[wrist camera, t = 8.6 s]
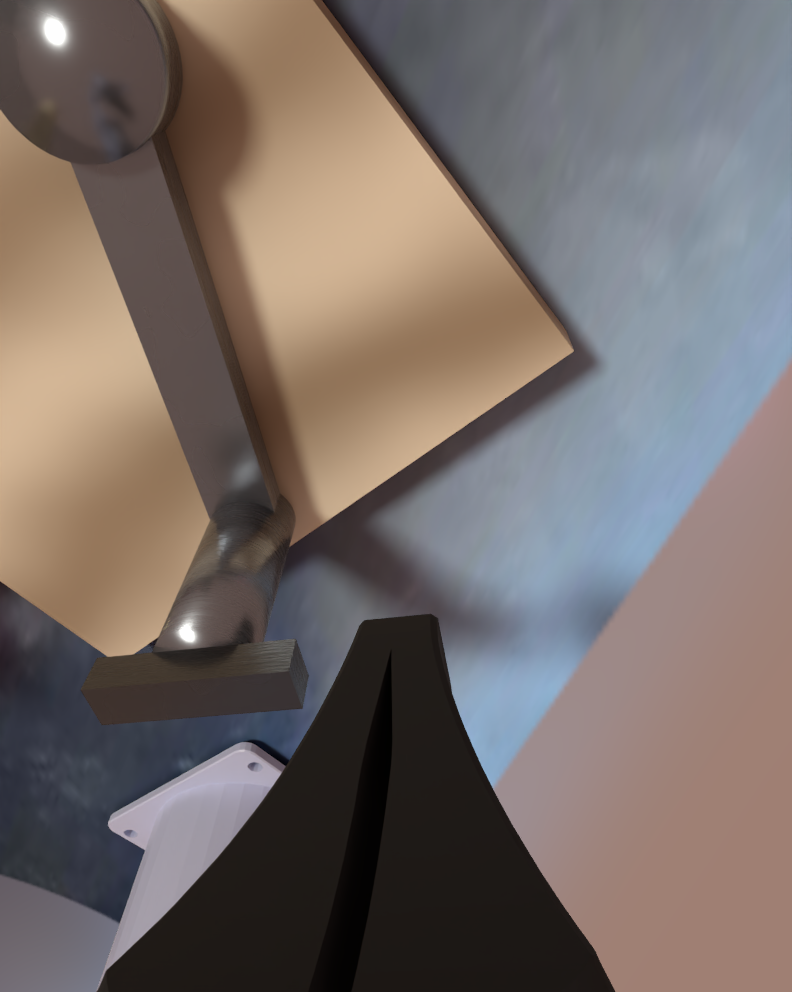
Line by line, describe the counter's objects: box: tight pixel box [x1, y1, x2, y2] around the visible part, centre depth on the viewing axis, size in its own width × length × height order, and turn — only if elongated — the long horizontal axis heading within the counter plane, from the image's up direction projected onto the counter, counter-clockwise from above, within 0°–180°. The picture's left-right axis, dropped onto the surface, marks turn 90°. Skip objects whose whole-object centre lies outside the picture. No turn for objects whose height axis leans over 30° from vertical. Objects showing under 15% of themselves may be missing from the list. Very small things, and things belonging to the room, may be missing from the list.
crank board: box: [0, 0, 574, 657], centre depth 16 cm, size 18×16×1 cm
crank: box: [0, 0, 309, 725], centre depth 13 cm, size 12×4×6 cm, turn 10°
